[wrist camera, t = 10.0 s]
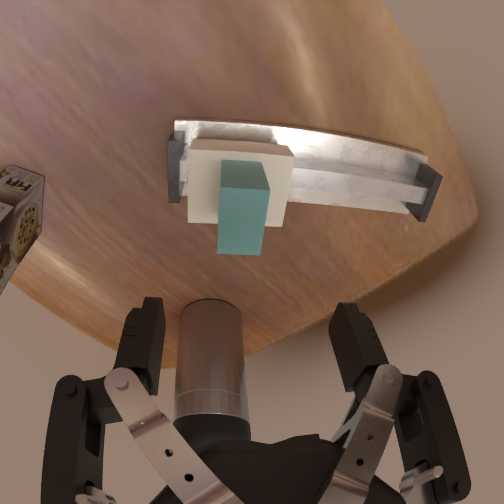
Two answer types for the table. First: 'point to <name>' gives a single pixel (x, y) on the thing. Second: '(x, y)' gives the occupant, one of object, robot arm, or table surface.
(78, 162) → the table surface
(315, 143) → the metal rail
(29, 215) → the coffee box
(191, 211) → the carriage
